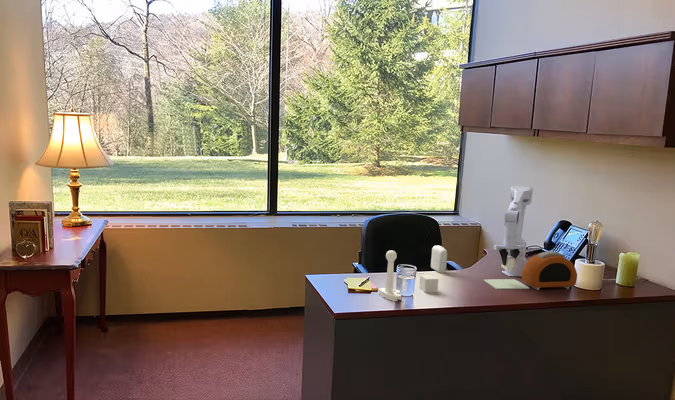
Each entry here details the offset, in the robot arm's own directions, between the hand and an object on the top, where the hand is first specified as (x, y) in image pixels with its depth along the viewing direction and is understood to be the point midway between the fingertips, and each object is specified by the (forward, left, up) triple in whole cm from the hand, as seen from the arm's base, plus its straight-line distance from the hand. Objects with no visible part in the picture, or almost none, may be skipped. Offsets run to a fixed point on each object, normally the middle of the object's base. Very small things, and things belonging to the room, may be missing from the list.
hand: (507, 265), depth 240 cm
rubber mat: (0, 0, -9) cm, 9 cm away
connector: (0, +1, -2) cm, 2 cm away
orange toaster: (-19, +4, -10) cm, 22 cm away
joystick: (+59, +14, -10) cm, 61 cm away
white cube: (+40, +6, -10) cm, 42 cm away
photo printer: (+24, -24, -10) cm, 35 cm away
